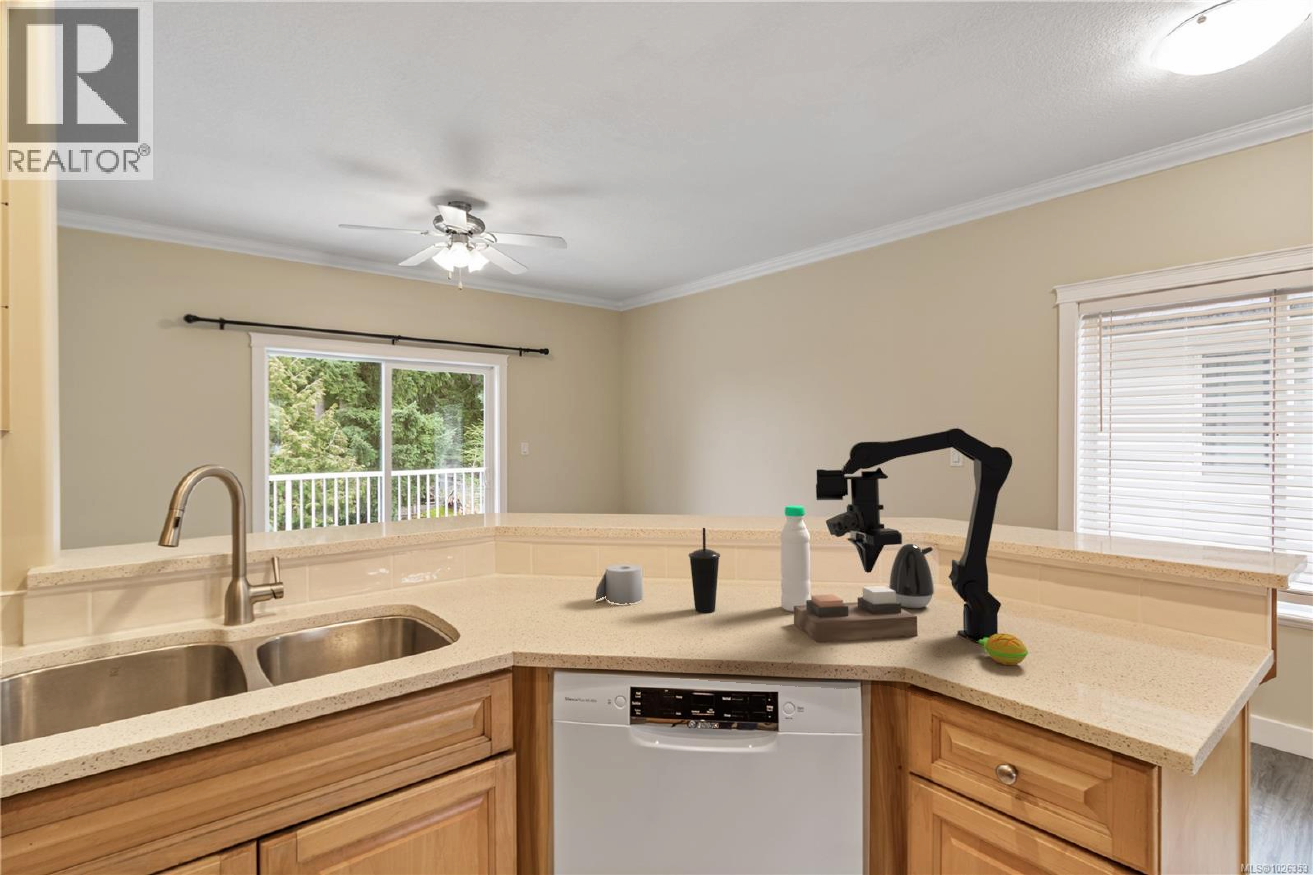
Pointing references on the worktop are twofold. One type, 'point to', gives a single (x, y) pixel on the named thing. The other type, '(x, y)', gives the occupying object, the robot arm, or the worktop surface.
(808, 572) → the water bottle
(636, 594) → the toilet tissue
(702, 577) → the drinking cup
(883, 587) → the white key
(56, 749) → the worktop surface
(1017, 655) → the maraca
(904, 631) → the console
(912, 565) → the pump dispenser
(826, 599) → the terracotta key
